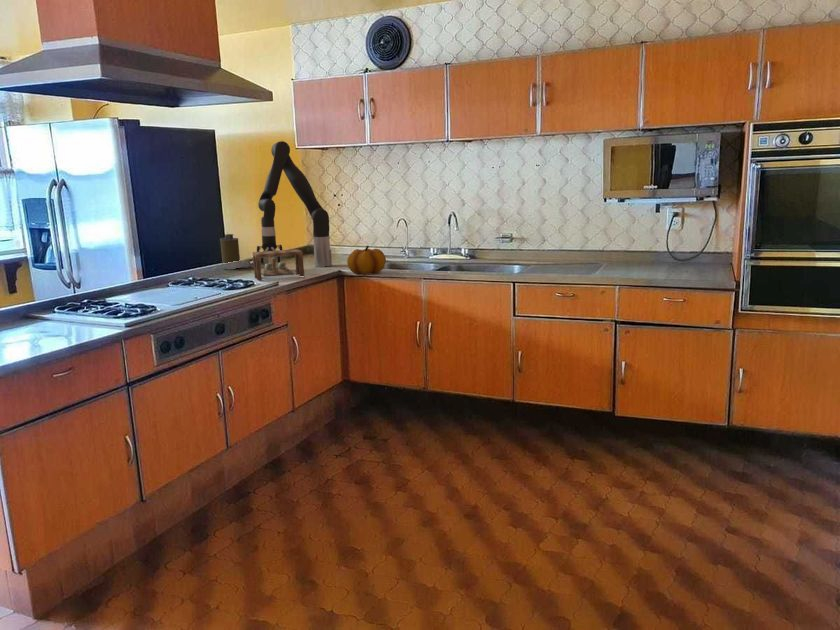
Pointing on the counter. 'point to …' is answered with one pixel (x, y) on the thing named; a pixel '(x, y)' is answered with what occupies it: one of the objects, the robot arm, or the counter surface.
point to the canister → (229, 249)
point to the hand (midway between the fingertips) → (270, 263)
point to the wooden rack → (295, 252)
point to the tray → (274, 268)
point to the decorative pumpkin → (366, 261)
